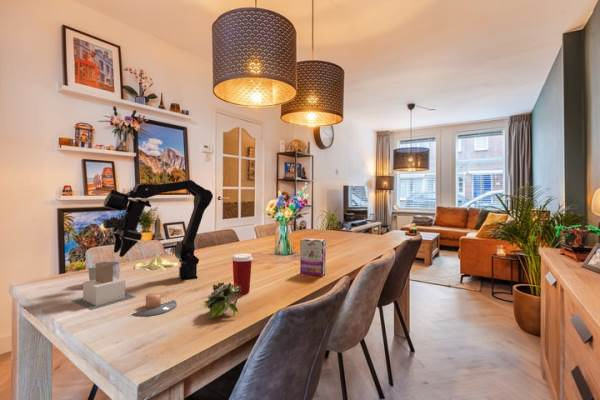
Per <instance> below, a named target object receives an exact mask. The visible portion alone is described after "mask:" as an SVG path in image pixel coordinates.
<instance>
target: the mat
mask: <svg viewBox="0 0 600 400" xmlns="http://www.w3.org/2000/svg"><path fill="white" fill-rule="evenodd" d="M134 298H136V296H135V295H133V294H129V293H127V292H125V298H122V299H118V300H115V301H111V302H108V303H104V304H100V305H97V306H96V305H93V304H91V303H89V302H87V301H84V300H83V297H79V298H75V299H71V302H72V303H75V304H77V305H79V306H82V307H83V308H85V309H88V310H90V311H93V310H96V309H101V308H105V307H107V306H110V305H115V304H117V303H121V302H124V301H127V300H130V299H134Z"/></svg>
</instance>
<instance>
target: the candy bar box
mask: <svg viewBox="0 0 600 400" xmlns="http://www.w3.org/2000/svg"><path fill="white" fill-rule="evenodd" d="M326 249H327V239H324V238H309V237H308V238H307V237H304V238H301V239H300V257H299V261H300V269H299V271H300V272H299V273H300V275H306V274H308V275H307V276H315V275H316V277H324V276H325V275H326V272H327V271H326V270H327V269H326V267H327V266H326V265H327V264H326V260H327V258H326V255H327V254H326V252H327V250H326ZM324 274H325V275H324Z"/></svg>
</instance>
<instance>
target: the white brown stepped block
mask: <svg viewBox="0 0 600 400" xmlns="http://www.w3.org/2000/svg"><path fill="white" fill-rule="evenodd" d="M108 262H109V261H103V262H102V261H101V262H98V263H96V262H95V264H96V279H95V280H91V281H90V280H87V281H83V282H82V298H83V300H84V301H87V302H89V303H91V304H93V305H96V306H97V305H100V304H104V303H108V302H111V301H115V300H118V299H122V298H125V293H126V280H125V279H123V278H120V277H119V278H116V277H113V264H112V263H108Z"/></svg>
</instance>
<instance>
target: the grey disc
mask: <svg viewBox="0 0 600 400" xmlns="http://www.w3.org/2000/svg"><path fill="white" fill-rule="evenodd" d="M177 304H178V303H177V301H176V300H170V301H168V302H164V303H162V294H161V293H160V292H152V293H149V294H147V295H145V308H146V309H142V310H140V311H137V312H134V313H132V314H131V315H132V316H135V317H151V316H158V315H159V316H160V315H163V314H166V313H169V312H171V311H172V310H174V309H175V308H177Z"/></svg>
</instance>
